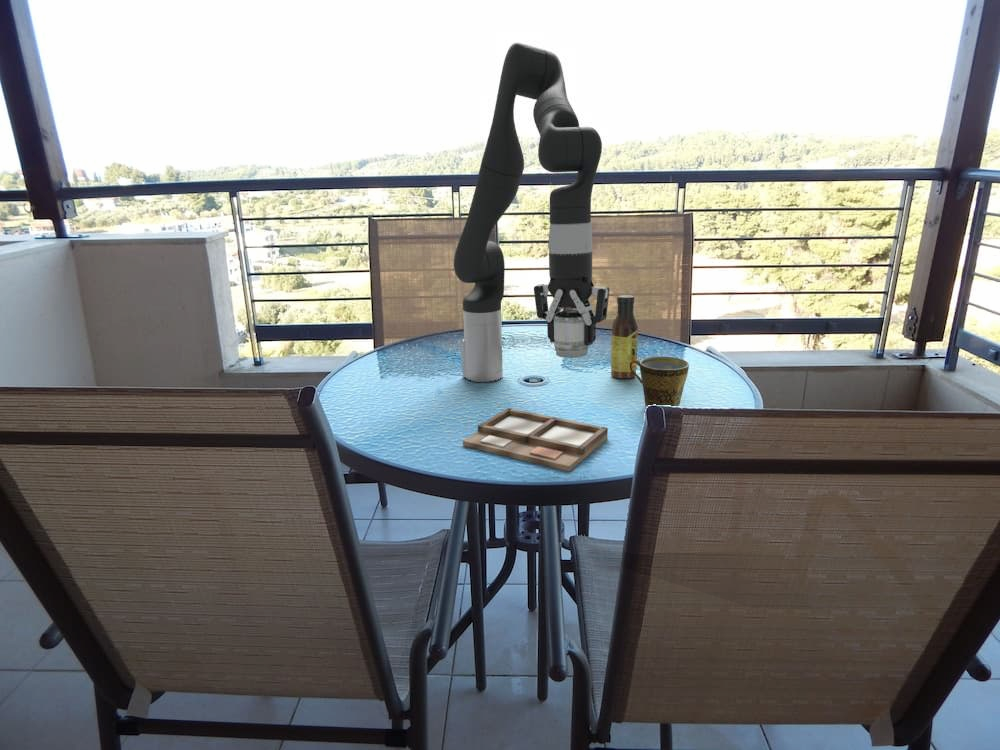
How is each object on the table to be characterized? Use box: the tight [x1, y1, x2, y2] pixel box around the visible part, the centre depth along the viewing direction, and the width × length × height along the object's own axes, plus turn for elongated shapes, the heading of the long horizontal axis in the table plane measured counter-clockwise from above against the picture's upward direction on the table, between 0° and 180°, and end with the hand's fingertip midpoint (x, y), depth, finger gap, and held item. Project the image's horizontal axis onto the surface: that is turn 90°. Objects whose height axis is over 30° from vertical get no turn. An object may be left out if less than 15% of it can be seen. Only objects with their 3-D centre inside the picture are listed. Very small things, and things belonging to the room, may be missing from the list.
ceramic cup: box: [630, 355, 690, 407], centre depth 132 cm, size 13×10×10 cm
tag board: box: [462, 407, 609, 473], centre depth 117 cm, size 22×16×2 cm
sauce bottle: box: [610, 294, 639, 380], centre depth 151 cm, size 6×6×20 cm
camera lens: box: [553, 309, 589, 359], centre depth 113 cm, size 6×6×8 cm
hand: (571, 342), depth 114 cm, fingers closed on camera lens, 6 cm apart
